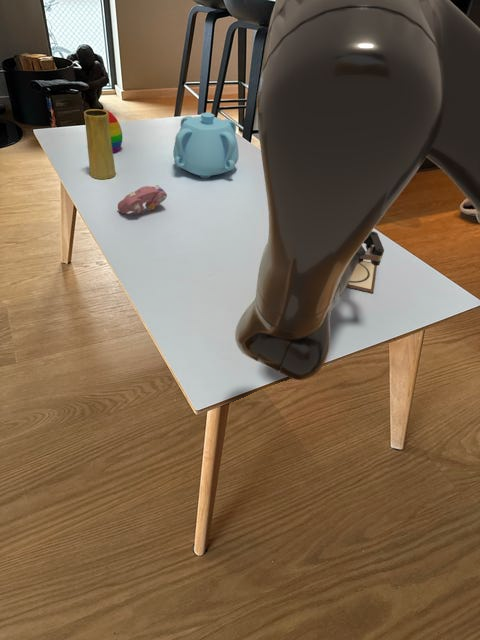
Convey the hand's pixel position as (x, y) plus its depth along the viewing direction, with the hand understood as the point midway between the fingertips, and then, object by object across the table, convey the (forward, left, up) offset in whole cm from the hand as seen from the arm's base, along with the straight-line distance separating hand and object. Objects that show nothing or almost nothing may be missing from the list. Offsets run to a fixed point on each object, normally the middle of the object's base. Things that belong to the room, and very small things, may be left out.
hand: (353, 220), depth 77 cm
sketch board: (-2, -4, -13) cm, 13 cm away
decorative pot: (+39, -38, -13) cm, 56 cm away
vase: (+60, -23, -13) cm, 66 cm away
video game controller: (+43, -10, -13) cm, 46 cm away
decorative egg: (+67, -38, -13) cm, 79 cm away
